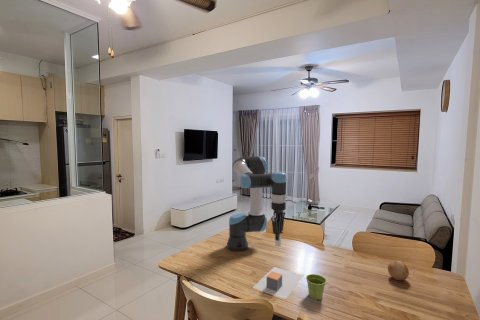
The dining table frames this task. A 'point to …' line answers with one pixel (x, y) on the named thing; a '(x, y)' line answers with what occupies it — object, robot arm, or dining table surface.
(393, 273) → the onion
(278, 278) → the flip cube
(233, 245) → the robot arm
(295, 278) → the grip mat
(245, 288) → the dining table surface
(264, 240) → the dining table surface
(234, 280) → the dining table surface
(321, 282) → the plant pot
